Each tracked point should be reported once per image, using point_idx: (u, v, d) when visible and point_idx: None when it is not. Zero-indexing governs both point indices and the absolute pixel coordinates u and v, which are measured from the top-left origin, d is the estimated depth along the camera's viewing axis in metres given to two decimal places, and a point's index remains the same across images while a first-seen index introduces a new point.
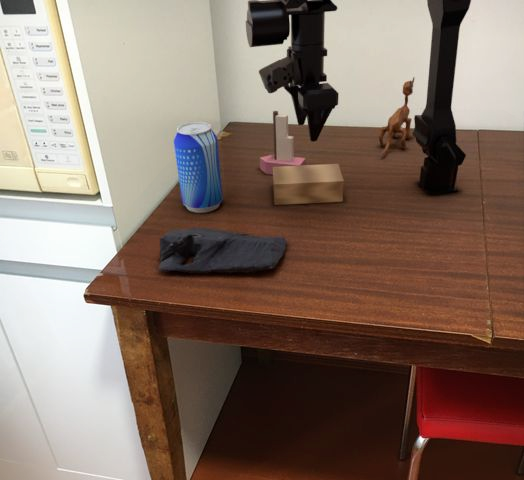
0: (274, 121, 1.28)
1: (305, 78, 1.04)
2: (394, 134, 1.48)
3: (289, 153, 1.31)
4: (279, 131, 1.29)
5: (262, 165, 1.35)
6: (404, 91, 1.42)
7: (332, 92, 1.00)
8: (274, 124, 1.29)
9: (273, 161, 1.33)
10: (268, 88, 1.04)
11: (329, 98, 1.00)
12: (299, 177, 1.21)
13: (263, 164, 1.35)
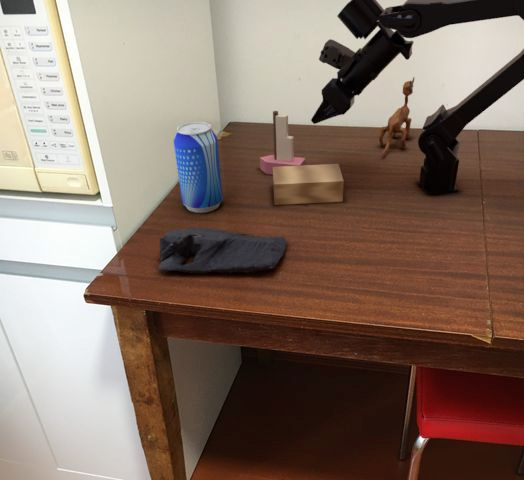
0: (274, 121, 1.28)
1: (347, 77, 1.15)
2: (394, 134, 1.48)
3: (289, 153, 1.31)
4: (279, 131, 1.29)
5: (262, 165, 1.35)
6: (404, 91, 1.42)
7: (346, 102, 1.12)
8: (274, 124, 1.29)
9: (273, 161, 1.33)
10: (321, 55, 1.15)
11: (341, 103, 1.12)
12: (299, 177, 1.21)
13: (263, 164, 1.35)
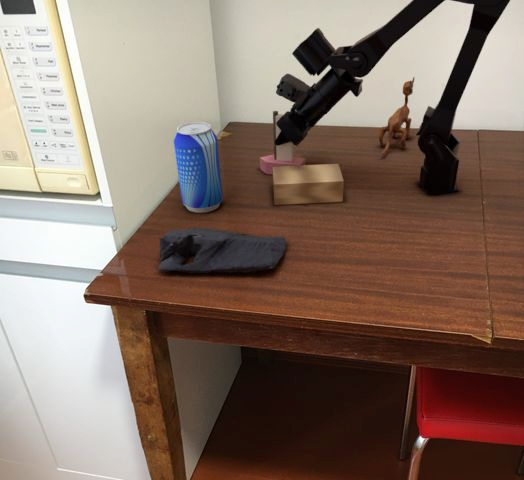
0: (274, 121, 1.28)
1: (302, 110, 1.23)
2: (394, 134, 1.48)
3: (289, 153, 1.31)
4: (279, 131, 1.29)
5: (262, 165, 1.35)
6: (404, 91, 1.42)
7: (299, 135, 1.19)
8: (274, 124, 1.29)
9: (273, 161, 1.33)
10: (277, 89, 1.22)
11: (294, 136, 1.20)
12: (299, 177, 1.21)
13: (263, 164, 1.35)
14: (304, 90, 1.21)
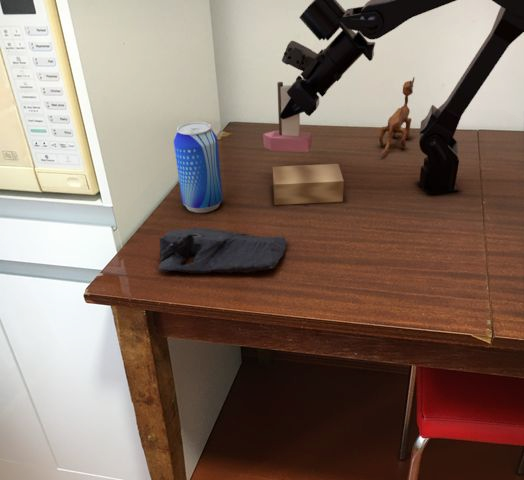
0: (279, 93, 1.21)
1: (311, 78, 1.15)
2: (394, 134, 1.48)
3: (296, 127, 1.24)
4: (285, 103, 1.21)
5: (266, 142, 1.27)
6: (404, 91, 1.42)
7: (312, 103, 1.12)
8: (279, 96, 1.21)
9: (278, 136, 1.25)
10: (284, 56, 1.15)
11: (307, 105, 1.12)
12: (299, 177, 1.21)
13: (267, 141, 1.27)
14: (313, 57, 1.14)
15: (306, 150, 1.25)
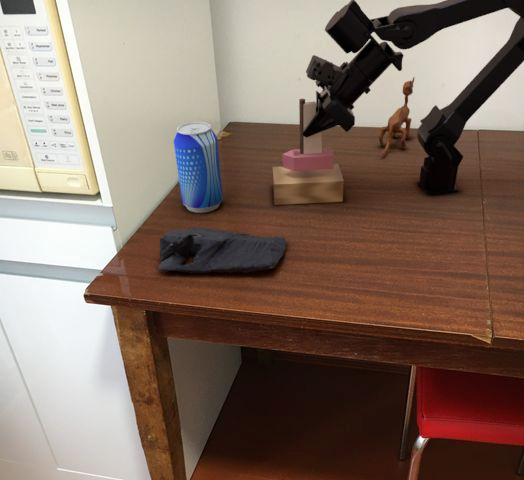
0: (301, 110, 1.14)
1: (339, 93, 1.11)
2: (394, 134, 1.48)
3: (319, 144, 1.18)
4: (308, 121, 1.16)
5: (287, 162, 1.20)
6: (404, 91, 1.42)
7: (351, 119, 1.07)
8: (301, 114, 1.15)
9: (301, 155, 1.19)
10: (310, 72, 1.09)
11: (346, 121, 1.07)
12: (299, 177, 1.21)
13: (288, 161, 1.20)
14: (340, 70, 1.09)
15: (331, 167, 1.20)
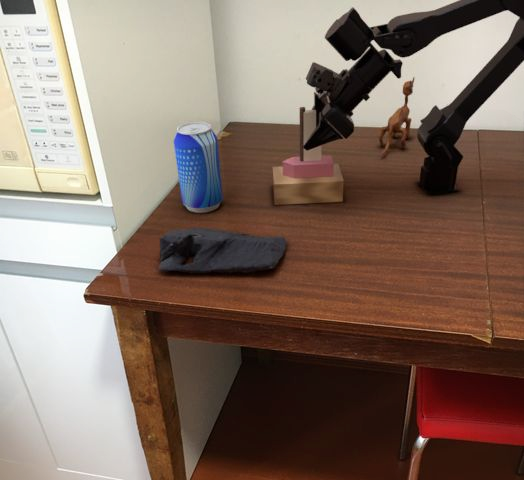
0: (302, 118, 1.15)
1: (339, 100, 1.11)
2: (394, 134, 1.48)
3: (319, 152, 1.19)
4: (308, 129, 1.16)
5: (287, 169, 1.21)
6: (404, 91, 1.42)
7: (351, 126, 1.08)
8: (301, 122, 1.16)
9: (301, 163, 1.20)
10: (310, 79, 1.10)
11: (345, 128, 1.08)
12: None
13: (288, 168, 1.21)
14: (339, 78, 1.10)
15: (331, 174, 1.21)
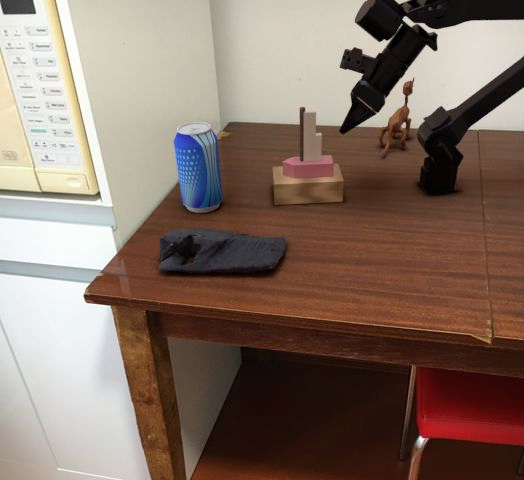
0: (302, 118, 1.15)
1: (373, 80, 1.09)
2: (394, 134, 1.48)
3: (319, 152, 1.19)
4: (308, 129, 1.16)
5: (287, 169, 1.21)
6: (404, 91, 1.42)
7: (380, 98, 1.04)
8: (301, 122, 1.16)
9: (301, 163, 1.20)
10: (341, 62, 1.10)
11: (375, 100, 1.05)
12: None
13: (288, 168, 1.21)
14: (372, 58, 1.09)
15: (331, 174, 1.21)
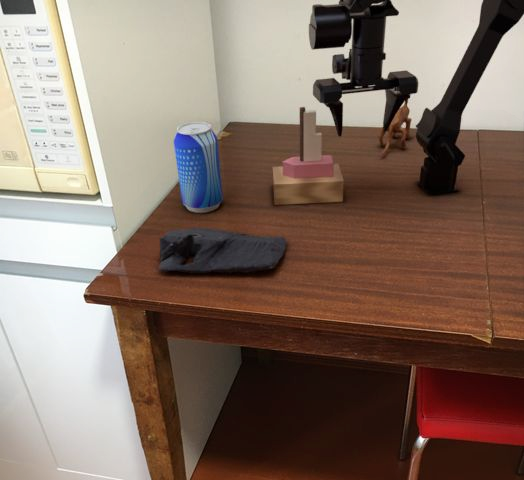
0: (302, 118, 1.15)
1: (350, 76, 1.10)
2: (394, 134, 1.48)
3: (319, 152, 1.19)
4: (308, 129, 1.16)
5: (287, 169, 1.21)
6: None
7: (319, 89, 1.07)
8: (301, 122, 1.16)
9: (301, 163, 1.20)
10: None
11: (318, 93, 1.08)
12: None
13: (288, 168, 1.21)
14: None
15: (331, 174, 1.21)
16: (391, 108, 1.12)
